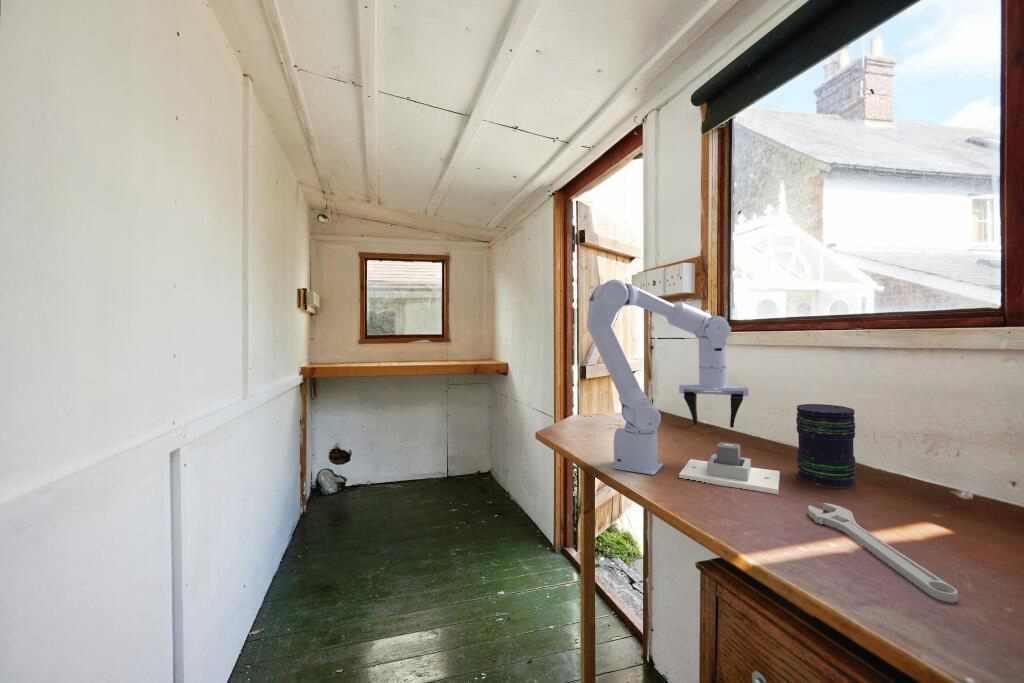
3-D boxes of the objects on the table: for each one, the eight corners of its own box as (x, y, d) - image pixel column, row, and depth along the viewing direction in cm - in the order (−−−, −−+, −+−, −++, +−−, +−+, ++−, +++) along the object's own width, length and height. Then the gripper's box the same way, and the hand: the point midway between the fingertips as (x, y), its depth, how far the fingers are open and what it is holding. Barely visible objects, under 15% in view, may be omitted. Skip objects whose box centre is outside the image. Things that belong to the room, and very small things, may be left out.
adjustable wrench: (966, 608, 48) (966, 593, 48) (900, 603, 49) (900, 588, 49) (841, 513, 73) (840, 503, 73) (799, 511, 74) (799, 501, 74)
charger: (717, 474, 90) (716, 445, 89) (720, 469, 93) (719, 441, 93) (738, 477, 87) (737, 448, 87) (740, 471, 91) (740, 443, 91)
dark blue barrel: (824, 489, 82) (823, 413, 82) (785, 473, 92) (784, 405, 92) (869, 486, 84) (868, 411, 83) (826, 470, 93) (825, 403, 93)
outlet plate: (679, 478, 91) (678, 462, 90) (690, 463, 100) (690, 448, 100) (778, 494, 81) (777, 476, 80) (779, 475, 91) (779, 459, 90)
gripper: (677, 368, 98) (678, 426, 98) (748, 369, 91) (749, 431, 91) (680, 365, 104) (681, 420, 104) (747, 366, 97) (748, 425, 98)
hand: (713, 425), depth 98 cm, fingers open, 7 cm apart
